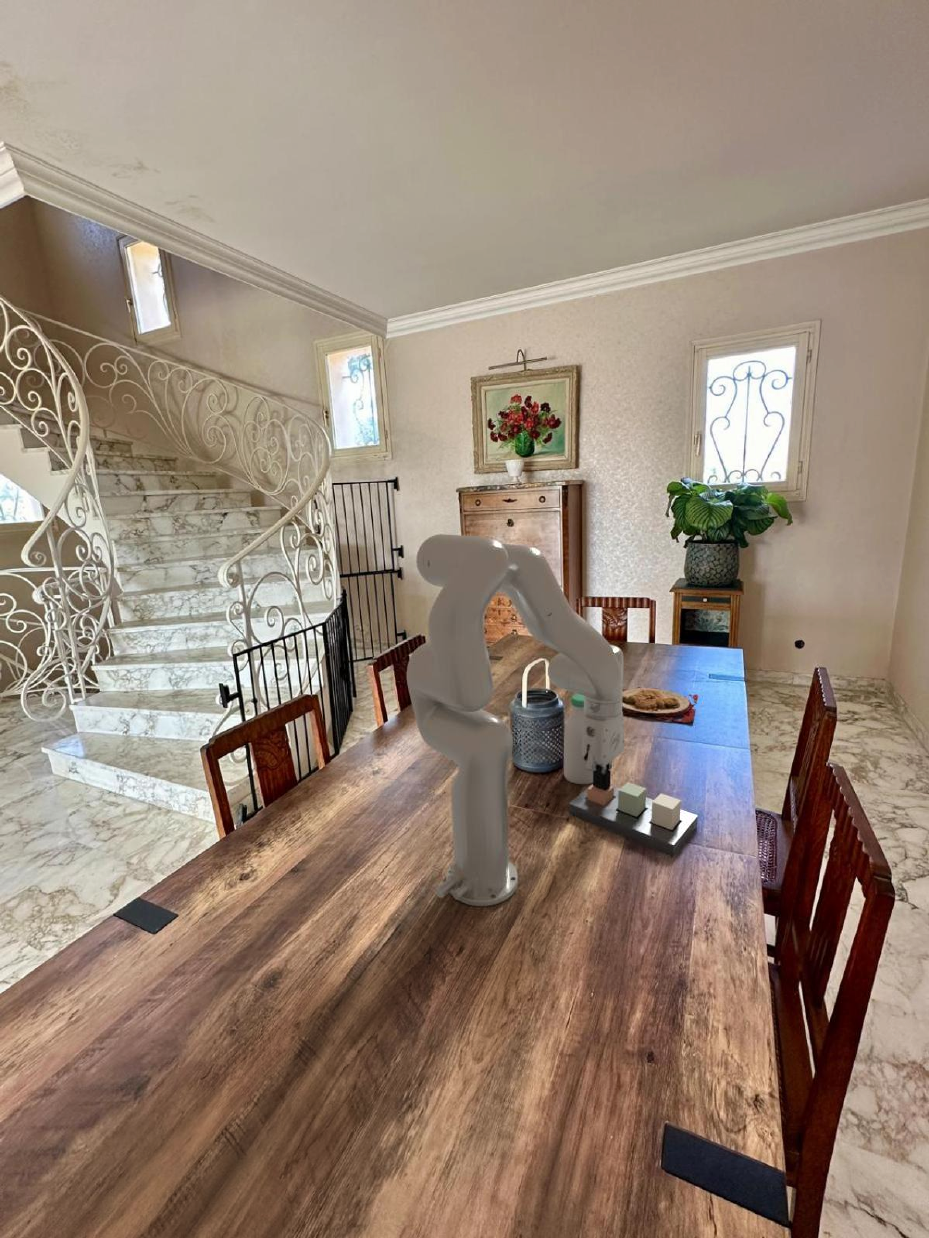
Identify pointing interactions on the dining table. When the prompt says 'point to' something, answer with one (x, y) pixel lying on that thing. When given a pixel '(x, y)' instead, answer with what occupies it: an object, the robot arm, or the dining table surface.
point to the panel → (634, 823)
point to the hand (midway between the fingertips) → (601, 786)
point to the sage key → (632, 799)
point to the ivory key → (666, 811)
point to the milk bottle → (575, 745)
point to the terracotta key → (600, 795)
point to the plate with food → (658, 704)
